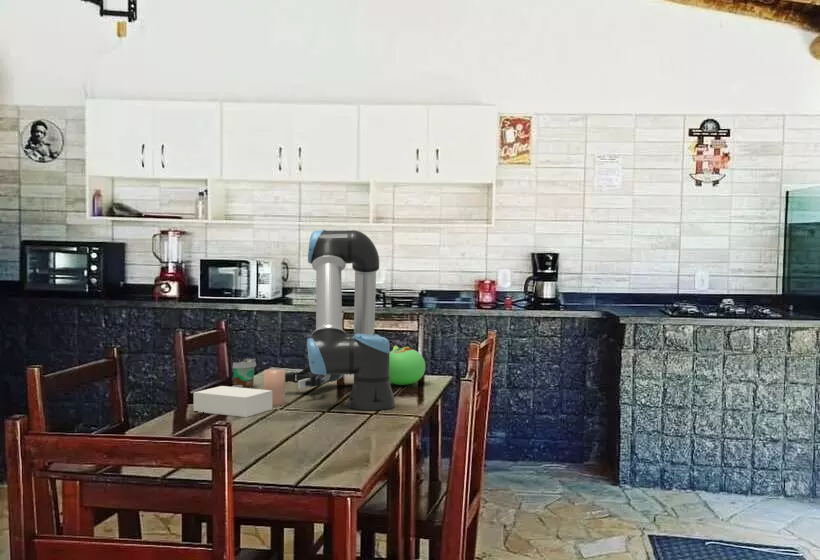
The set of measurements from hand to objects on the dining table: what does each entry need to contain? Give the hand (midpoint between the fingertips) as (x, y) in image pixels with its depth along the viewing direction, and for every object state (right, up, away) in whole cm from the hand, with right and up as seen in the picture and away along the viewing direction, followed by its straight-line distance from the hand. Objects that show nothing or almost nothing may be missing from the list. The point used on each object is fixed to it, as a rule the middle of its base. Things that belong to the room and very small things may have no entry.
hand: (281, 383), depth 279 cm
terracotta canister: (-2, -6, -5) cm, 8 cm away
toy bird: (+40, -5, +35) cm, 54 cm away
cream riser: (-13, -6, -17) cm, 22 cm away
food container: (-17, -5, +27) cm, 32 cm away
